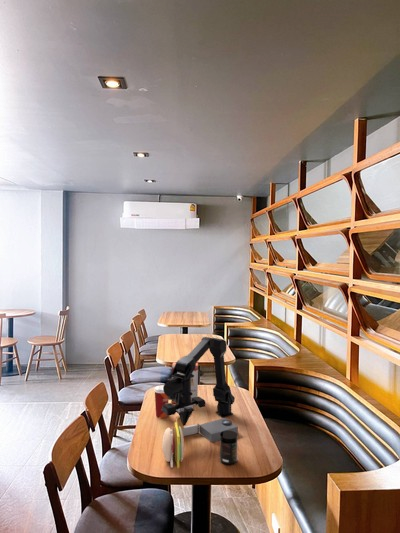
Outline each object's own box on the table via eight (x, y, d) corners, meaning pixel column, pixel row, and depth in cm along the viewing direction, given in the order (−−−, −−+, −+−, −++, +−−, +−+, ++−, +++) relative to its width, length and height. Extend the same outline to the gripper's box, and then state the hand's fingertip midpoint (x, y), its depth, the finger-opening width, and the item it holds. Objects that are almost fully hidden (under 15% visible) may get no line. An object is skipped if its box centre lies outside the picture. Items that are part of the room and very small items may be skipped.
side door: (199, 433, 164) (199, 413, 163) (177, 437, 159) (177, 417, 159) (198, 431, 165) (198, 412, 165) (176, 436, 160) (176, 416, 160)
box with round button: (224, 425, 172) (224, 416, 172) (237, 434, 163) (237, 425, 163) (199, 432, 164) (199, 423, 164) (211, 442, 156) (211, 432, 156)
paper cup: (167, 419, 177) (167, 391, 176) (151, 418, 178) (152, 389, 178) (171, 412, 184) (171, 385, 184) (156, 411, 186) (157, 384, 185)
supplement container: (239, 458, 144) (239, 432, 144) (234, 467, 138) (235, 440, 137) (222, 454, 146) (222, 429, 146) (217, 464, 140) (217, 437, 140)
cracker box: (171, 403, 195) (171, 365, 195) (172, 399, 201) (172, 361, 201) (197, 404, 195) (198, 365, 194) (197, 399, 201) (198, 362, 201)
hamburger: (161, 451, 148) (161, 422, 148) (181, 450, 149) (182, 421, 149) (163, 469, 136) (163, 437, 136) (185, 467, 138) (185, 435, 137)
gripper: (193, 380, 170) (193, 413, 170) (156, 387, 160) (156, 422, 161) (206, 387, 160) (206, 422, 161) (168, 396, 151) (167, 433, 151)
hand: (184, 425), depth 159 cm, fingers closed
